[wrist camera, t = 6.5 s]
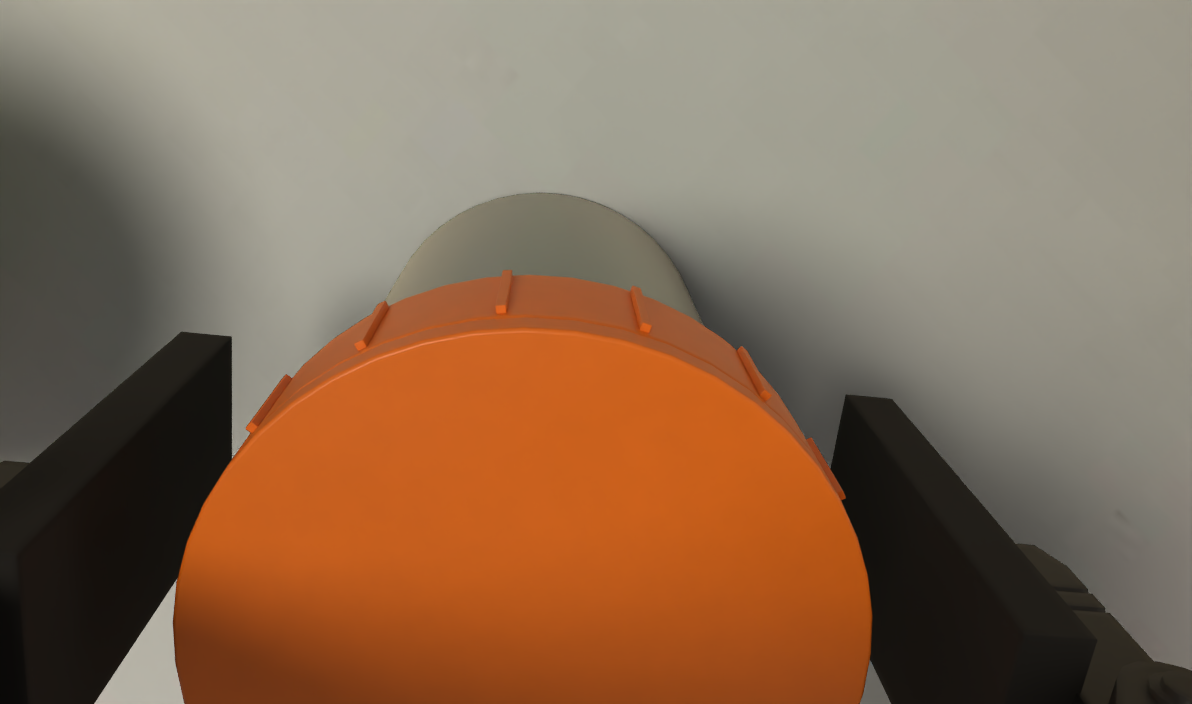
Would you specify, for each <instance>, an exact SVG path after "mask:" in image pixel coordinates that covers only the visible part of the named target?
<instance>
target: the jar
mask: <svg viewBox="0 0 1192 704" xmlns="http://www.w3.org/2000/svg"><path fill="white" fill-rule="evenodd" d="M503 270H512V276H517V275H541V276H556V277H571V278H577V279H582V280H587V281H592V282H597V283H602V284H607V285H612V286H616V287H619V288H622V289H625V290H628V291H630V290H631V288H632V286H635V287H638V288H641V291H642V294H643V296H646V297H649V298H652V299H654V300H656V301H659V302H661V303H663V304H665V305H667V306H669V307H671V308H673V309H675V310H677V311H679V312H681V313H683V314H685V315H687V316H689V317H691V318H693V319H694V320H696V321H697V322H699V323H700V324H702V325H703V323H702V321H701V319H700V317H699V314H698V312H697V310H696V308H695V306H694V304H693V301H692V299H691V297H690V295H689V293H688V291H687V288H686V286H685V284H684V282H683V280H682V278H681V276H680V274H679V272H678V270H677V269H676V267H675V266H674V264H673V263H672V261H671V260H670V258H669V257H668V255H667V254H666V253H665V252H664V250H663V249H662V248H661V247H660V246H659V245H658V244H657V242H656V241H655V240H654V239H653V238H652V237H650V236H649V235H648V234H647V233H646V232H645V231H644V230H642V229H641V228H640V227H639V226H638V225H636V224H635V223H633V222H632V221H630V220H629V219H627V218H626V217H624V216H623V215H621V214H619V213H617V212H615V211H613V210H611V209H609V208H607V207H605V206H603V205H600V204H597V203H594V202H591V201H588V200H585V199H582V198H578V197H572V196H567V195H562V194H550V193H530V194H517V195H512V196H507V197H502V198H497V199H494V200H491V201H488V202H485V203H482V204H479V205H476V206H474V207H472V208H470V209H468V210H466V211H464V212H462V213H460V214H458V215H457V216H455V217H454V218H452V219H451V220H449V221H448V222H446V223H445V224H443V225H442V226H440V227H439V228H438V229H437V230H436V231H435V232H434V233H433V234H431V235H430V236H429V237H428V238H427V239H426V240H425V241H424V242H423V243H422V244H421V246H420V247H419V248H418V249H417V250H416V252H415V253H414V254H413V255H412V256H411V258H410V259H409V261H408V263H407V264H406V266H405V267H404V269H403V270H402V272H401V274H400V275H399V277H398V279H397V281H396V282H395V284H394V286H393V287H392V289H391V291H390V293H389V294H388V296H387V298H386V299H385V301H386V302H387V304H388V306H390V305H392V304H394V303H396V302H398V301H400V300H403V299H405V298H408V297H411V296H414V295H417V294H420V293H423V292H426V291H429V290H432V289H435V288H438V287H441V286H444V285H449V284H454V283H460V282H465V281H470V280H475V279H481V278H486V277H501V276H502V271H503ZM703 326H704V325H703Z"/></svg>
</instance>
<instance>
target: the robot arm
mask: <svg viewBox="0 0 1192 704" xmlns="http://www.w3.org/2000/svg"><path fill="white" fill-rule="evenodd" d="M231 460H232V337H231V336H220V335H210V334H199V333H188V332H180V333H179V334H178V335H177V336H176V337H175V338H174V339H172V340H171V341H170V342H169V343H168V344H167V345H165V346H164V347H163V348H162V349H161V350H160V351H159V352H157V353H156V354H155V355H154V356H153V357H152V358H150V359H149V360H148V361H147V362H146V363H145V364H144V365H142V366H141V367H140V368H139V369H138V370H137V371H135V372H134V373H133V374H132V375H131V376H130V377H129V378H127V379H126V380H125V381H124V382H123V383H122V384H120V385H119V386H118V387H117V388H116V389H115V390H114V391H112V392H111V393H110V394H109V395H108V396H107V397H105V398H104V399H103V400H102V401H101V402H100V403H99V404H97V405H96V406H95V407H94V408H93V409H92V410H90V411H89V412H88V413H87V414H86V415H85V416H84V417H82V418H81V419H80V420H79V421H78V422H77V423H75V424H74V425H73V426H72V427H71V428H70V429H69V430H67V431H66V432H65V433H64V434H63V435H62V436H61V437H59V438H58V439H57V440H56V441H55V442H54V443H52V444H51V445H50V446H49V447H48V448H47V449H46V450H44V451H43V452H42V453H41V454H40V455H39V456H37V457H36V458H35V459H34V460H33V461H32V462H31V463H25V462H13V461H3V462H0V704H94V703H95V702H96V700H97V698H98V697H99V695H100V694H101V692H102V691H103V689H104V688H105V686H106V685H107V683H108V682H109V680H110V679H111V677H112V676H113V674H114V673H115V671H116V670H117V668H118V667H119V665H120V664H121V662H122V661H123V659H124V658H125V656H126V655H127V653H128V652H129V650H130V649H131V647H132V646H133V644H134V643H135V641H136V640H137V638H138V637H139V635H140V634H141V632H142V631H143V629H144V628H145V626H146V625H147V623H148V622H149V620H150V619H151V617H152V616H153V614H154V613H155V611H156V610H157V608H158V607H159V605H160V604H161V602H162V600H163V599H164V597H165V596H166V594H167V593H168V591H169V590H170V588H171V587H172V585H173V584H174V582H175V581H176V579H177V578H178V575H179V571H180V567H181V563H182V559H183V555H184V551H185V548H186V544H187V541H188V538H189V536H190V533H191V531H192V529H193V527H194V525H195V522H196V520H197V518H198V515H199V513H200V511H201V508H202V506H203V504H204V502H205V500H206V499H207V497H208V496H209V494H210V492H211V491H212V489H213V488H214V486H215V484H216V483H217V481H218V480H219V478H220V476H221V475H222V473H223V472H224V470H225V469H226V467H227V465H228V464H229V463H230V461H231ZM830 470H831V471H832V473H833V475H834V476H835V478H836V480H837V482H838V483H839V485H840V487H841V488H842V490H843V492H844V494H845V496H846V498H845V499H843V500H841V501H842V504H843V506H844V508H845V510H846V513H847V515H848V517H849V519H850V522H851V524H852V526H853V528H854V531H855V533H856V535H857V537H858V541H859V545H860V548H861V552H862V556H863V560H864V563H865V567H866V571H867V574H868V580H869V589H870V598H871V607H872V637H871V655H870V660H871V662H872V664H873V667H874V669H875V671H876V673H877V675H878V677H879V679H880V681H881V683H882V685H883V687H884V689H885V692H886V694H887V696H888V698H889V700H890V702H891V704H1192V671H1190V670H1188V669H1185V668H1182V667H1178V666H1174V665H1170V664H1165V663H1161V662H1154V661H1153V660H1152V659H1151V658H1150V657H1149V656H1148V655H1147V653H1146V652H1145V651H1144V650H1143V649H1142V648H1141V647H1140V646H1139V645H1138V644H1137V642H1136V641H1135V640H1134V639H1133V638H1132V637H1131V636H1130V635H1129V634H1128V633H1127V632H1126V630H1125V629H1124V628H1123V627H1122V626H1121V625H1120V624H1119V623H1118V622H1117V621H1116V619H1115V618H1114V617H1113V616H1112V615H1111V614H1110V613H1105V607H1104V606H1103V605H1102V604H1101V603H1100V602H1099V601H1098V600H1097V599H1096V598H1095V596H1094V595H1093V594H1088V589H1087V588H1086V587H1085V585H1084V584H1083V583H1082V582H1081V581H1080V580H1079V579H1078V578H1077V577H1076V576H1075V575H1074V573H1073V572H1072V571H1071V570H1070V569H1069V568H1068V567H1067V566H1066V565H1064V564H1063V563H1061V562H1060V561H1058V560H1056V559H1055V558H1053V557H1052V556H1050V555H1049V554H1047V553H1046V552H1044V551H1042V550H1041V549H1039V548H1038V547H1036V546H1035V545H1027V544H1015V543H1014V541H1013V540H1012V539H1011V538H1010V537H1009V536H1008V534H1007V533H1006V532H1005V531H1004V530H1003V529H1002V527H1001V526H1000V525H999V524H998V523H997V522H996V520H995V519H994V518H993V517H992V516H991V514H990V513H989V512H988V511H987V510H986V509H985V507H984V506H983V505H982V504H981V503H980V502H979V500H978V499H977V498H976V497H975V496H974V495H973V493H972V492H971V491H970V490H969V489H968V488H967V486H966V485H965V484H964V483H963V482H962V481H961V479H960V478H959V477H958V476H957V475H956V474H955V472H954V471H953V470H952V469H951V468H950V467H949V465H948V464H947V463H946V462H945V461H944V459H943V458H942V457H941V456H940V455H939V454H938V452H937V451H936V450H935V449H934V448H933V447H932V445H931V444H930V443H929V442H928V441H927V440H926V438H925V437H924V436H923V435H922V434H921V433H920V431H919V430H918V429H917V428H916V427H915V426H914V424H913V423H912V422H911V421H910V420H909V419H908V417H907V416H906V415H905V414H904V413H903V412H902V410H901V409H900V408H899V407H898V406H897V404H896V403H895V402H894V401H893V400H892V399H887V398H877V397H866V396H856V395H846V396H845V401H844V406H843V411H842V415H841V420H840V425H839V430H838V435H837V440H836V445H835V450H834V454H833V459H832V464H831V469H830Z"/></svg>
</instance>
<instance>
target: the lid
mask: <svg viewBox="0 0 1192 704" xmlns="http://www.w3.org/2000/svg"><path fill="white" fill-rule="evenodd" d="M246 430H248V431H249V432H250V435H249V436H248V438H247V439H246V440H245V442H244V443H243V445H242V446H241V447H240V449H239V450H238V452H237V453H236V454H235V456H234V457H233V459H232V460H231V461H230V463H229V464H228V465H227V467H226V469H225V470H224V472H223V473H222V475H221V476H220V478H219V480H218V481H217V483H216V484H215V486H214V488H213V489H212V491H211V492H210V494H209V496H208V497H207V499H206V500H205V502H204V504H203V506H202V508H201V511H200V513H199V515H198V518H197V520H196V522H195V525H194V527H193V529H192V531H191V533H190V536H189V538H188V541H187V544H186V548H185V551H184V555H183V559H182V563H181V567H180V571H179V575H178V579H177V584H176V594H175V605H174V616H173V632H174V647H175V663H176V668H177V672H178V677H179V681H180V686H181V690H182V695H183V699H184V703H185V704H860V701H861V698H862V695H863V692H864V687H865V681H866V676H867V671H868V666H869V661H870V655H871V637H872V607H871V598H870V589H869V580H868V574H867V571H866V567H865V563H864V560H863V556H862V552H861V548H860V545H859V541H858V537H857V535H856V533H855V531H854V528H853V526H852V524H851V522H850V519H849V517H848V515H847V513H846V510H845V508H844V506H843V504H842V501H841V500H843V499H845V498H846V496H845V494H844V492H843V490H842V488H841V487H840V485H839V483H838V482H837V480H836V478H835V476H834V475H833V473H832V471H831V470H830V468H829V466H828V465H827V463H826V461H825V460H824V458H823V456H822V454H821V453H820V451H819V449H818V448H817V446H816V444H815V443H814V441H813V439H812V438H808V439H805V437H804V435H803V433H802V432H801V430H800V428H799V426H798V425H797V423H796V422H795V420H794V418H793V417H792V415H791V414H790V412H789V411H788V409H787V407H786V406H785V404H784V403H783V401H782V400H781V398H780V396H779V395H778V393H777V392H776V391H775V390H774V389H773V388H772V386H771V385H770V384H769V383H768V382H767V381H766V379H765V378H764V377H763V376H762V375H761V374H760V372H759V371H758V369H757V368H756V366H755V364H754V362H753V360H752V359H751V357H750V355H749V353H748V351H747V350H746V349H745V348H743V347H742V346H741V347H740V348H739V349H738V350H736V349H734V348H733V347H732V346H731V345H730V344H729V343H728V342H726V341H725V340H724V339H723V338H721V337H720V336H718V335H717V334H715V333H714V332H712V331H711V330H709V329H708V328H706V327H705V326H703V325H702V324H700V323H699V322H697V321H696V320H694V319H693V318H691V317H689V316H687V315H685V314H683V313H681V312H679V311H677V310H675V309H673V308H671V307H669V306H667V305H665V304H663V303H661V302H659V301H656V300H654V299H652V298H649V297H646V296H643V294H642V291H641V288H638V287H635V286H632V288H631V290H630V291H628V290H625V289H622V288H619V287H616V286H612V285H607V284H602V283H597V282H592V281H587V280H582V279H577V278H571V277H556V276H541V275H517V276H512V270H503V271H502V276H501V277H486V278H481V279H475V280H470V281H465V282H460V283H454V284H449V285H444V286H441V287H438V288H435V289H432V290H429V291H426V292H423V293H420V294H417V295H414V296H411V297H408V298H405V299H403V300H400V301H398V302H396V303H394V304H392V305H390V306H388V304H387V302H386V301H383V302H381V303H379V304H378V305H377V306H376V308H375V310H374V311H373V313H372V314H371V315H369V316H367V317H366V318H364V319H363V320H361V321H360V322H358V323H357V324H355V325H354V326H352V327H351V328H349V329H348V330H346V331H345V332H343V333H341V334H340V335H338V336H337V337H335V338H334V339H333V340H331V341H330V342H329V343H328V344H327V345H326V346H325V347H324V348H322V349H321V350H320V351H319V352H318V353H317V354H316V355H314V356H313V357H312V358H311V359H310V360H309V361H308V362H306V363H305V364H304V365H303V366H302V367H301V369H300V370H299V371H298V372H297V373H296V374H295V376H294V377H293V378H291V377H290V376H288V375H287V374H286V375H285V376H284V377H283V378H282V379H281V381H280V382H279V383H278V385H277V386H276V387H275V389H274V390H273V392H272V393H271V394H270V396H269V397H268V398H267V400H266V401H265V402H264V404H263V405H262V406H261V408H260V409H259V411H258V412H257V413H256V415H255V416H254V417H253V419H252V420H251V421H250V423H249V424H248V425H247V427H246Z"/></svg>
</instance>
